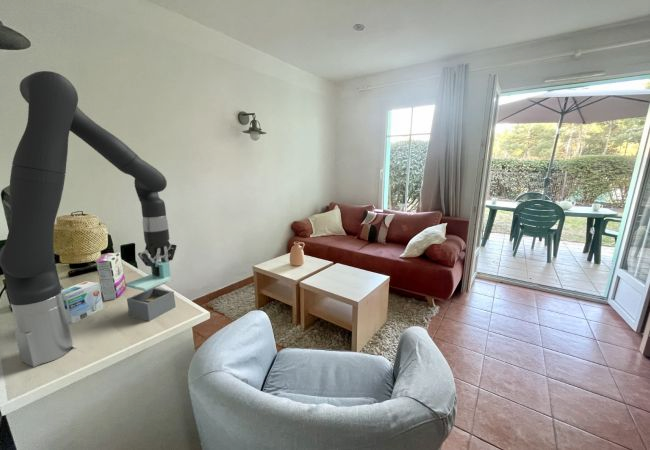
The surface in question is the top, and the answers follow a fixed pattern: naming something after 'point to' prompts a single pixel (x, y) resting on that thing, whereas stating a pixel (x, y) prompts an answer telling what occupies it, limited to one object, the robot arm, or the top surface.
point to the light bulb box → (82, 300)
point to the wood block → (151, 298)
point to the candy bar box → (111, 276)
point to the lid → (152, 279)
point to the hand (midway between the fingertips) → (161, 274)
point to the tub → (151, 304)
